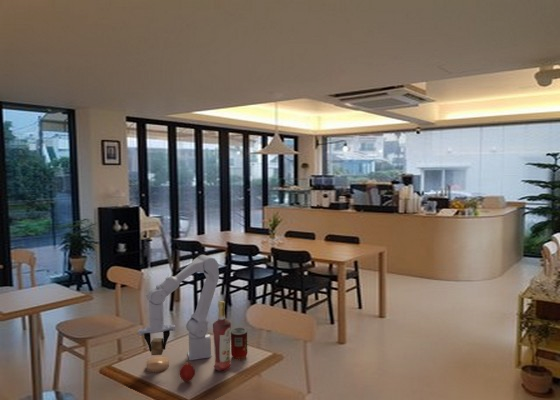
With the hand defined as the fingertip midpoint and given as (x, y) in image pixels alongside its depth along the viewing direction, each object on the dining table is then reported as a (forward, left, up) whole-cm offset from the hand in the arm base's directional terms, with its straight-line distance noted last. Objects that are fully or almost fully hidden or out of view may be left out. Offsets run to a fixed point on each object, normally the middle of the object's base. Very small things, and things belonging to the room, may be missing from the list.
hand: (157, 349), depth 168 cm
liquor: (-25, +11, -8) cm, 28 cm away
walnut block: (0, 0, -1) cm, 1 cm away
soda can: (-34, +3, -8) cm, 35 cm away
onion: (-10, +17, -8) cm, 21 cm away
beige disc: (0, 0, -7) cm, 7 cm away
